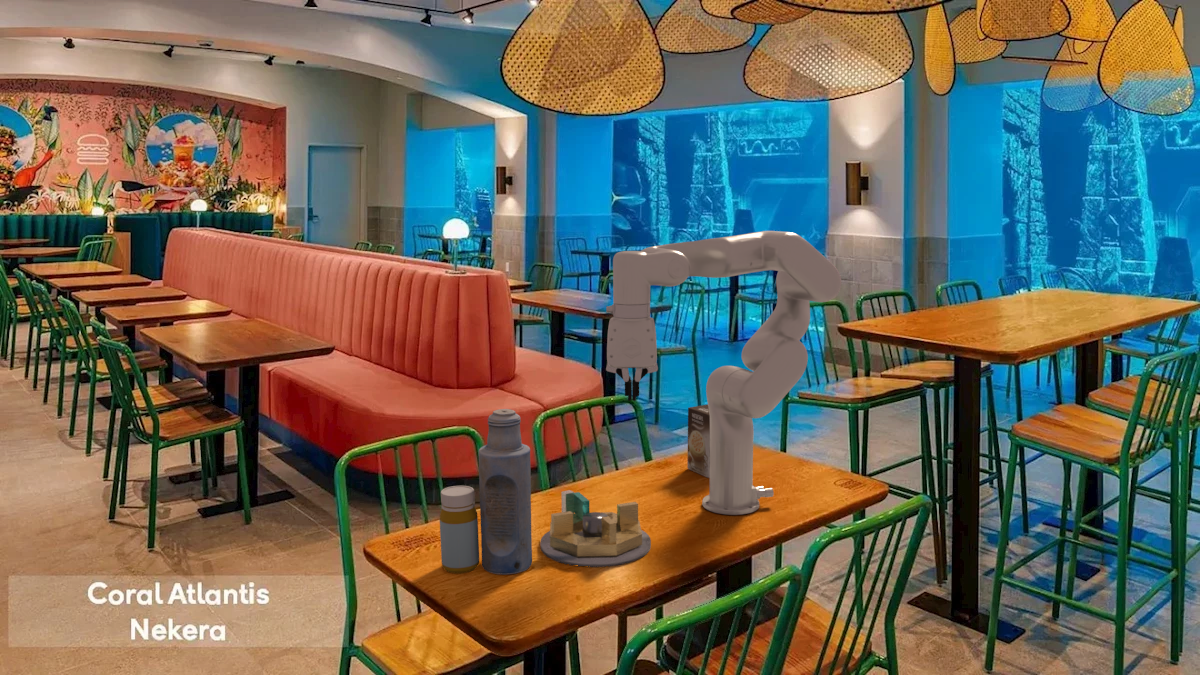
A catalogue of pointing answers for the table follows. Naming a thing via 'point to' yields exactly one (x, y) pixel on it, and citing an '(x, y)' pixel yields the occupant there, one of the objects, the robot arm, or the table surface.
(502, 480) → the bottle
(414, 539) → the table surface
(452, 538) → the bottle
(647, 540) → the hub
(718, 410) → the robot arm
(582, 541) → the wooden castle nut
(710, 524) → the table surface
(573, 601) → the table surface
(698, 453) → the coffee box
